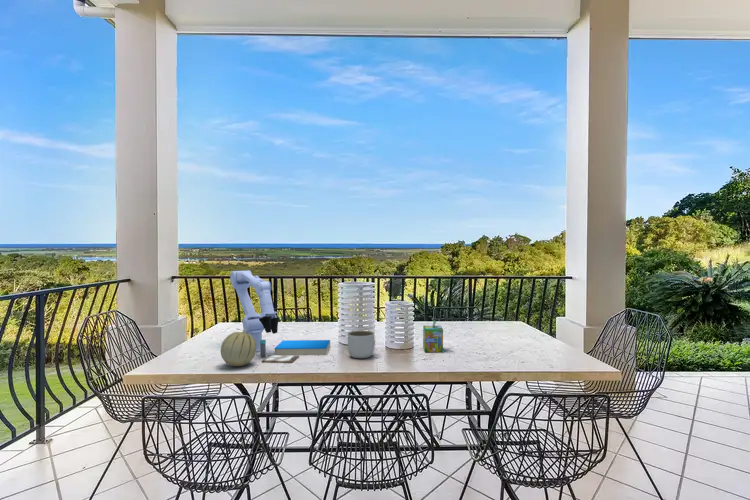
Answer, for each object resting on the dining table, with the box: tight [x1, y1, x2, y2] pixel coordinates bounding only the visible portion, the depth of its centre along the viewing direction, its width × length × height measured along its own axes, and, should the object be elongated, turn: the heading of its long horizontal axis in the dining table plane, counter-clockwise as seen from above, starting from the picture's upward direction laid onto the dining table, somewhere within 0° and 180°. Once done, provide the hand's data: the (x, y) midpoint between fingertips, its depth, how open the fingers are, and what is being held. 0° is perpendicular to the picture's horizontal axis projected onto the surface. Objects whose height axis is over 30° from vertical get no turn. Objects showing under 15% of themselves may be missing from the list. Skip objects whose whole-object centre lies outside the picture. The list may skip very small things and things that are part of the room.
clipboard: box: [261, 354, 300, 364], centre depth 175 cm, size 14×10×1 cm
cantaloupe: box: [220, 329, 257, 367], centre depth 166 cm, size 15×15×15 cm
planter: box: [347, 330, 375, 359], centre depth 179 cm, size 12×12×11 cm
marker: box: [259, 339, 267, 359], centre depth 179 cm, size 3×3×8 cm
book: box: [274, 339, 331, 356], centre depth 191 cm, size 17×4×25 cm
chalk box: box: [422, 319, 444, 353], centre depth 189 cm, size 9×9×15 cm
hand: (272, 332), depth 180 cm, fingers open, 7 cm apart
